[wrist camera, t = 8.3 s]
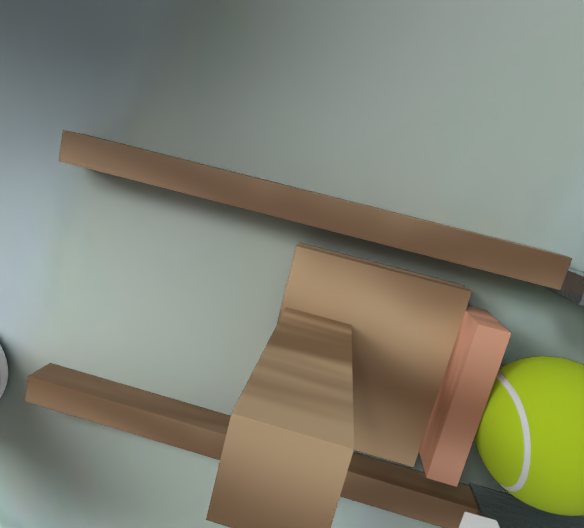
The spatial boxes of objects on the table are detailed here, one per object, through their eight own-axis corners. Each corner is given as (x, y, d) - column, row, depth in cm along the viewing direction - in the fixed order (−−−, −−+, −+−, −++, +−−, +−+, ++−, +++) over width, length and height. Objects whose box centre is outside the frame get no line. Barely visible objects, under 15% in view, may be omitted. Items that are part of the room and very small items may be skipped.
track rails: (84, 134, 26) (62, 130, 24) (553, 252, 24) (571, 258, 22) (46, 386, 29) (24, 401, 27) (460, 509, 27) (469, 535, 25)
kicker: (299, 242, 25) (248, 300, 12) (492, 292, 24) (653, 412, 11) (258, 407, 27) (176, 607, 14) (435, 459, 26) (519, 720, 13)
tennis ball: (600, 340, 24) (700, 401, 17) (584, 461, 25) (671, 563, 19) (463, 333, 25) (506, 388, 18) (453, 451, 26) (491, 545, 19)
